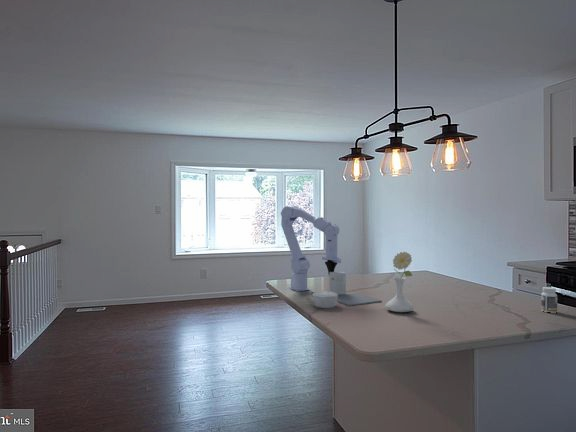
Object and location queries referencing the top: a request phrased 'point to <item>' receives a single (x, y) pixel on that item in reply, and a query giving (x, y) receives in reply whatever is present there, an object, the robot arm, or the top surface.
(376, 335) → the top surface
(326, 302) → the ramekin
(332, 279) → the small box
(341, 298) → the grey mat
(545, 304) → the pill bottle
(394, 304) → the flower in vase
